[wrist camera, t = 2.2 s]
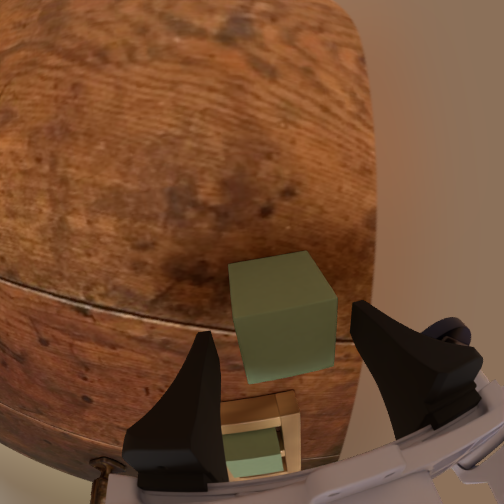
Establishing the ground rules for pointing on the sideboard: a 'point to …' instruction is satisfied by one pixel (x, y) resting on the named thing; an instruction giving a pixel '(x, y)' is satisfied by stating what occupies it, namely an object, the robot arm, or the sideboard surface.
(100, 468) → the figurine
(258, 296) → the olive green cubic block
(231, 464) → the green cubic block
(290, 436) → the backing frame
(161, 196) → the sideboard surface
